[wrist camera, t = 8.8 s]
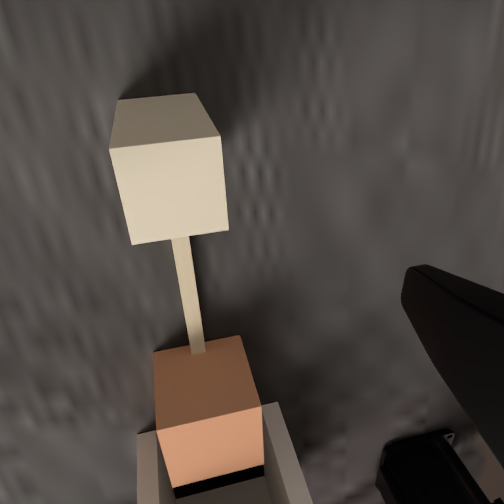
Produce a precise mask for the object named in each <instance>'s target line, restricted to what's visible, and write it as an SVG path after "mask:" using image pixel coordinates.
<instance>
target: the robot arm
mask: <svg viewBox="0 0 504 504" xmlns="http://www.w3.org/2000/svg"><path fill="white" fill-rule="evenodd" d="M401 303H402V306H403V308H404V310H405V312H406V314H407V316H408V318H409V320H410V322H411V324H412V325H413V327H414V329H415V331H416V333H417V335H418V337H419V339H420V341H421V343H422V344H423V346H424V348H425V350H426V352H427V354H428V356H429V357H430V359H431V361H432V363H433V364H434V366H435V368H436V369H437V371H438V372H439V374H440V375H441V377H442V378H443V380H444V381H445V383H446V384H447V386H448V387H449V389H450V390H451V392H452V393H453V395H454V396H455V398H456V399H457V401H458V402H459V404H460V405H461V407H462V408H463V410H464V411H465V413H466V414H467V416H468V417H469V419H470V420H471V422H472V423H473V425H474V426H475V428H476V429H477V431H478V432H479V434H480V435H481V437H482V438H483V440H484V441H485V443H486V444H487V446H488V447H489V449H490V450H491V452H492V453H493V455H494V456H495V457H496V459H497V461H498V462H499V463H500V465H501V466H502V468H503V469H504V294H503V293H500V292H498V291H495V290H493V289H490V288H487V287H485V286H482V285H480V284H477V283H474V282H472V281H469V280H467V279H464V278H461V277H459V276H456V275H453V274H451V273H448V272H446V271H443V270H440V269H438V268H435V267H433V266H430V265H426V264H423V265H418V266H412V267H409V268H408V269H407V271H406V273H405V278H404V283H403V288H402V293H401ZM454 437H455V433H454V432H453V431H452V429H447V430H443V431H439V432H436V433H432V434H428V435H424V436H421V437H417V438H413V439H409V440H406V441H402V442H398V443H394V444H391V445H388V446H386V447H385V448H384V449H383V453H382V457H381V462H380V466H379V470H378V475H377V479H376V484H375V486H376V488H377V490H379V491H380V493H381V495H382V497H383V499H384V501H385V503H386V504H504V503H503V501H502V500H501V498H498V499H496V500H494V503H491V502H490V501H489V499H488V498H487V496H486V495H485V494H484V492H483V491H482V489H481V488H480V486H479V485H478V483H477V482H476V481H475V479H474V478H473V476H472V475H471V473H470V472H469V471H468V469H467V468H466V466H465V465H464V463H463V462H462V460H461V459H460V458H459V456H458V455H457V453H456V452H455V450H454V449H453V448H452V446H451V444H452V442H453V439H454Z"/></svg>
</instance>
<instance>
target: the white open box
mask: <svg viewBox="0 0 504 504" xmlns="http://www.w3.org/2000/svg"><path fill="white" fill-rule="evenodd" d="M261 407H262V428H263V448H264V476H262V477H258V478H254V479H251V480H247V481H243V482H239V483H236V484H232V485H228V486H224V487H220V488H217V489H213V490H209V491H205V492H202V493H198V494H194V495H190V496H187V497H183V498H179V499H175V495H174V492H173V488H172V485H171V481H170V478H169V474H168V471H167V467H166V464H165V460H164V457H163V453H162V450H161V446H160V443H159V439H158V436H157V432H156V430H154V431H150V432H146V433H142V434H137V504H313V502H312V499H311V497H310V494H309V491H308V488H307V485H306V482H305V479H304V476H303V473H302V471H301V468H300V465H299V462H298V459H297V456H296V453H295V450H294V447H293V444H292V442H291V439H290V436H289V433H288V430H287V427H286V424H285V421H284V418H283V416H282V413H281V410H280V407H279V404H278V402H274V403H269V404H265V405H261Z"/></svg>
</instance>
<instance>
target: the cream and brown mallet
mask: <svg viewBox="0 0 504 504" xmlns="http://www.w3.org/2000/svg"><path fill="white" fill-rule="evenodd" d="M109 151H110V155H111V159H112V163H113V168H114V172H115V176H116V180H117V184H118V188H119V193H120V197H121V201H122V205H123V209H124V214H125V218H126V222H127V226H128V230H129V234H130V239H131V243H132V245H135V244H141V243H148V242H154V241H160V240H167V239H171V240H172V246H173V252H174V257H175V263H176V269H177V274H178V280H179V286H180V291H181V297H182V303H183V308H184V314H185V320H186V325H187V331H188V337H189V343H190V345H187V346H182V347H177V348H172V349H167V350H162V351H157V352H153V368H154V391H155V413H156V432H157V435H158V439H159V442H160V446H161V449H162V453H163V456H164V460H165V463H166V467H167V470H168V474H169V477H170V481H171V484H172V488H174V487H178V486H182V485H185V484H189V483H193V482H197V481H201V480H205V479H209V478H212V477H216V476H220V475H224V474H228V473H232V472H236V471H239V470H243V469H247V468H251V467H255V466H259V465H263V464H264V448H263V428H262V407H261V403H260V400H259V396H258V393H257V390H256V386H255V383H254V380H253V377H252V373H251V370H250V367H249V363H248V360H247V357H246V353H245V350H244V347H243V343H242V340H241V337H240V335H237V336H232V337H227V338H222V339H217V340H212V341H207V342H204V335H203V328H202V322H201V315H200V308H199V301H198V295H197V288H196V281H195V274H194V267H193V261H192V254H191V247H190V240H189V236H193V235H199V234H206V233H212V232H218V231H225V230H229V228H228V216H227V204H226V193H225V181H224V169H223V158H222V146H221V136H220V134H219V132H218V131H217V129H216V127H215V126H214V124H213V122H212V120H211V119H210V117H209V115H208V114H207V112H206V110H205V109H204V107H203V105H202V103H201V102H200V100H199V98H198V97H197V95H196V93H187V94H177V95H166V96H155V97H145V98H134V99H124V100H118V101H117V107H116V112H115V118H114V124H113V129H112V135H111V140H110V146H109Z"/></svg>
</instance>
